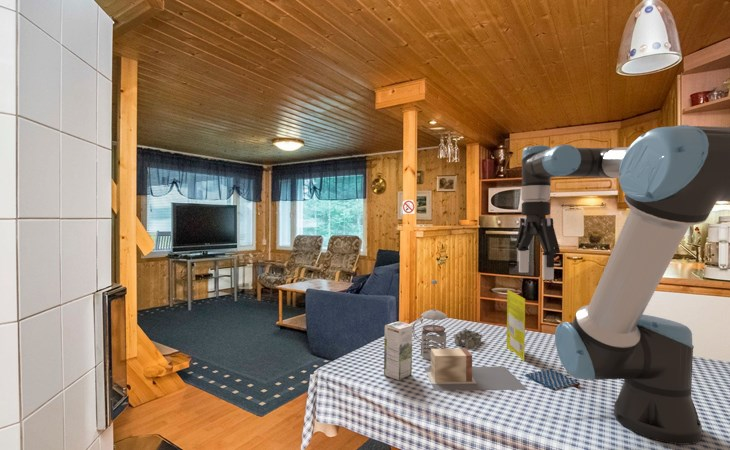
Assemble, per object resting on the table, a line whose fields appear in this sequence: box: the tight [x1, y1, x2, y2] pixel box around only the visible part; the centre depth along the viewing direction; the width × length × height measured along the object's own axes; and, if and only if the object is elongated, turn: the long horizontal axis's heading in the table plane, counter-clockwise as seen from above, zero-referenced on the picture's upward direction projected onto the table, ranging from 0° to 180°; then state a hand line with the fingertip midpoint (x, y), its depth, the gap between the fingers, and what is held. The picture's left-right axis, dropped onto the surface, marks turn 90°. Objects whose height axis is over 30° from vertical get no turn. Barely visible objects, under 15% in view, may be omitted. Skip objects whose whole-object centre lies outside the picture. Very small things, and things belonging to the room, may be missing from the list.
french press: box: [412, 279, 448, 361], centre depth 122 cm, size 10×12×25 cm
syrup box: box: [383, 321, 414, 381], centre depth 108 cm, size 6×6×14 cm
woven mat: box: [524, 368, 581, 392], centre depth 104 cm, size 10×11×2 cm
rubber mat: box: [423, 366, 528, 392], centre depth 105 cm, size 15×24×1 cm, turn 92°
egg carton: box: [453, 328, 483, 349], centre depth 137 cm, size 11×8×4 cm
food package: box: [506, 289, 526, 362], centre depth 125 cm, size 15×1×20 cm, turn 179°
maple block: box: [430, 348, 473, 382], centre depth 105 cm, size 10×6×7 cm, turn 92°
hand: (535, 275), depth 110 cm, fingers open, 13 cm apart
